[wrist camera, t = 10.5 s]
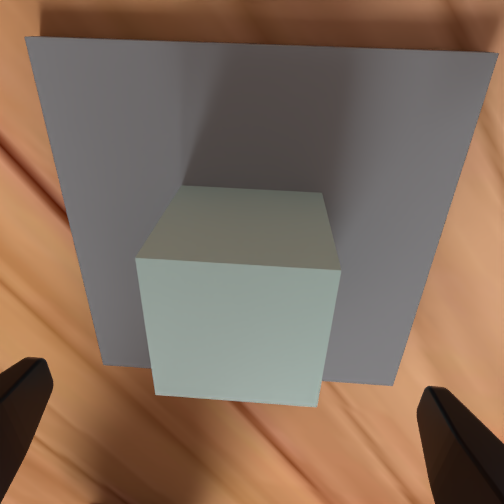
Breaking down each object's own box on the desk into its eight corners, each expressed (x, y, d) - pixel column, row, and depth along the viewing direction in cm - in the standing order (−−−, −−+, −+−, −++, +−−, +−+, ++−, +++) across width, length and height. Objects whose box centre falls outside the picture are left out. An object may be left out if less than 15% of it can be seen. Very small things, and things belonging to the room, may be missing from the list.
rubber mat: (109, 352, 19) (103, 364, 19) (39, 36, 12) (24, 36, 11) (388, 372, 19) (392, 386, 18) (485, 51, 12) (498, 53, 11)
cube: (189, 297, 16) (155, 394, 12) (181, 185, 14) (135, 257, 9) (307, 304, 16) (316, 407, 12) (322, 192, 13) (341, 270, 9)
